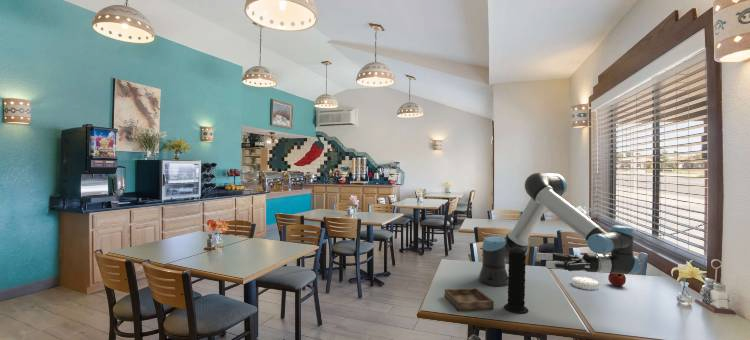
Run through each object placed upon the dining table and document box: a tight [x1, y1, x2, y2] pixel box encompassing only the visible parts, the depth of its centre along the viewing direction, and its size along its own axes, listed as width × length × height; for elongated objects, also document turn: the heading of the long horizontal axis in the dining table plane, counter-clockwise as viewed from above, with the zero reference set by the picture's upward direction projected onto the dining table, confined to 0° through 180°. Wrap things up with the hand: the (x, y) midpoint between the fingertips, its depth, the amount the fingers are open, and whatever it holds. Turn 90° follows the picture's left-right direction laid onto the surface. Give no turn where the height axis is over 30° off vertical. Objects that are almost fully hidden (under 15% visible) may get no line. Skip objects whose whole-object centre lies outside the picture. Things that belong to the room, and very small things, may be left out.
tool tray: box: [444, 287, 494, 312], centre depth 155 cm, size 16×16×4 cm
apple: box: [607, 273, 627, 287], centre depth 180 cm, size 7×8×8 cm
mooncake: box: [571, 276, 600, 291], centre depth 179 cm, size 12×12×4 cm
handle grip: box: [503, 248, 530, 315], centre depth 149 cm, size 10×26×10 cm
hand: (541, 260), depth 147 cm, fingers open, 13 cm apart
